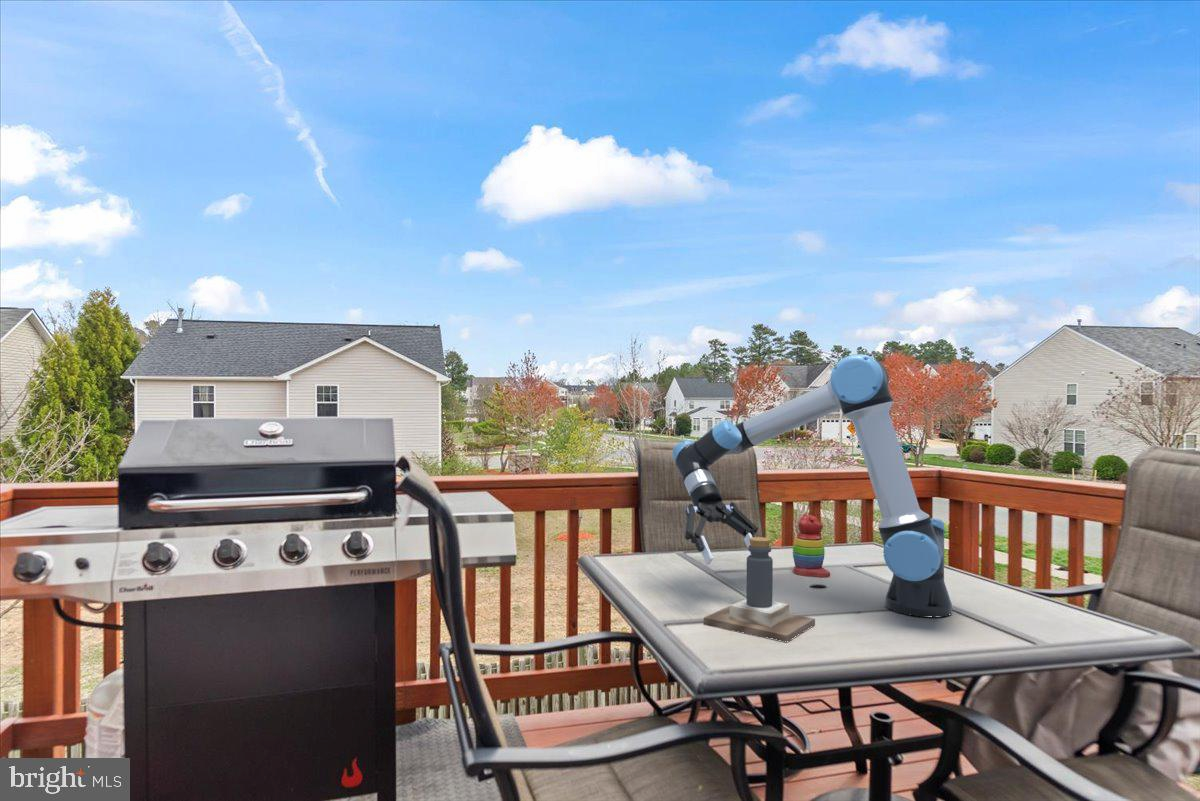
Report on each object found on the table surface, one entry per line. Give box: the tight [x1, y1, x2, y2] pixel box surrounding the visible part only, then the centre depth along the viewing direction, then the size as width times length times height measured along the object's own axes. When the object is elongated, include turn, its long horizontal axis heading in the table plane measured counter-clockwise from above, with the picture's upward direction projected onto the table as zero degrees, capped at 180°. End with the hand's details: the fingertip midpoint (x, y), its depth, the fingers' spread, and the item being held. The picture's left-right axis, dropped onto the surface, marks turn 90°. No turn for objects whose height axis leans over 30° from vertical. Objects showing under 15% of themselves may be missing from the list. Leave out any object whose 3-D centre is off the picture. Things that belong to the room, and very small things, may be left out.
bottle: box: [745, 536, 774, 608], centre depth 160 cm, size 6×6×15 cm
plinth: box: [703, 598, 816, 643], centre depth 160 cm, size 20×16×5 cm
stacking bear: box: [792, 513, 831, 578], centre depth 213 cm, size 11×10×18 cm
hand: (734, 559), depth 170 cm, fingers open, 13 cm apart
